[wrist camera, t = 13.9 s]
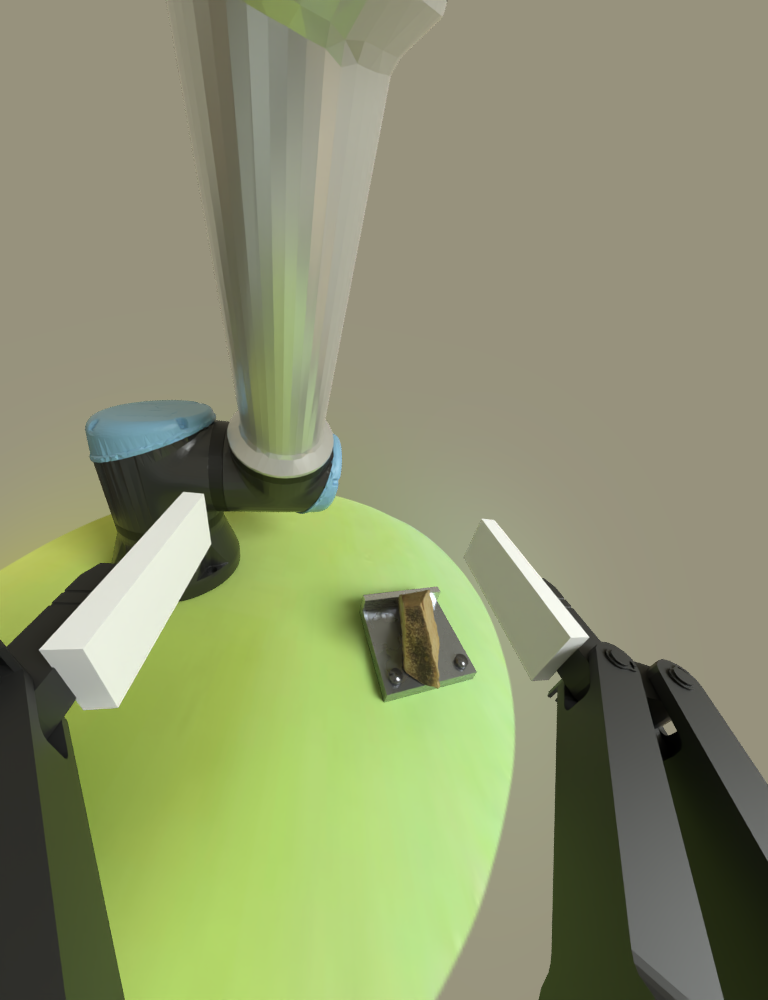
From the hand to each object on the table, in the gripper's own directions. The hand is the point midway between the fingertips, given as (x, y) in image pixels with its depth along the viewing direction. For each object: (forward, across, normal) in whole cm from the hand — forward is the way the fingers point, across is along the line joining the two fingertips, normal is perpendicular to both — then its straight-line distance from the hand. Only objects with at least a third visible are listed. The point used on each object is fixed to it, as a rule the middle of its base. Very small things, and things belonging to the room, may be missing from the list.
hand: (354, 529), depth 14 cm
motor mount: (+10, +12, -26) cm, 31 cm away
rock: (+9, +12, -25) cm, 29 cm away
